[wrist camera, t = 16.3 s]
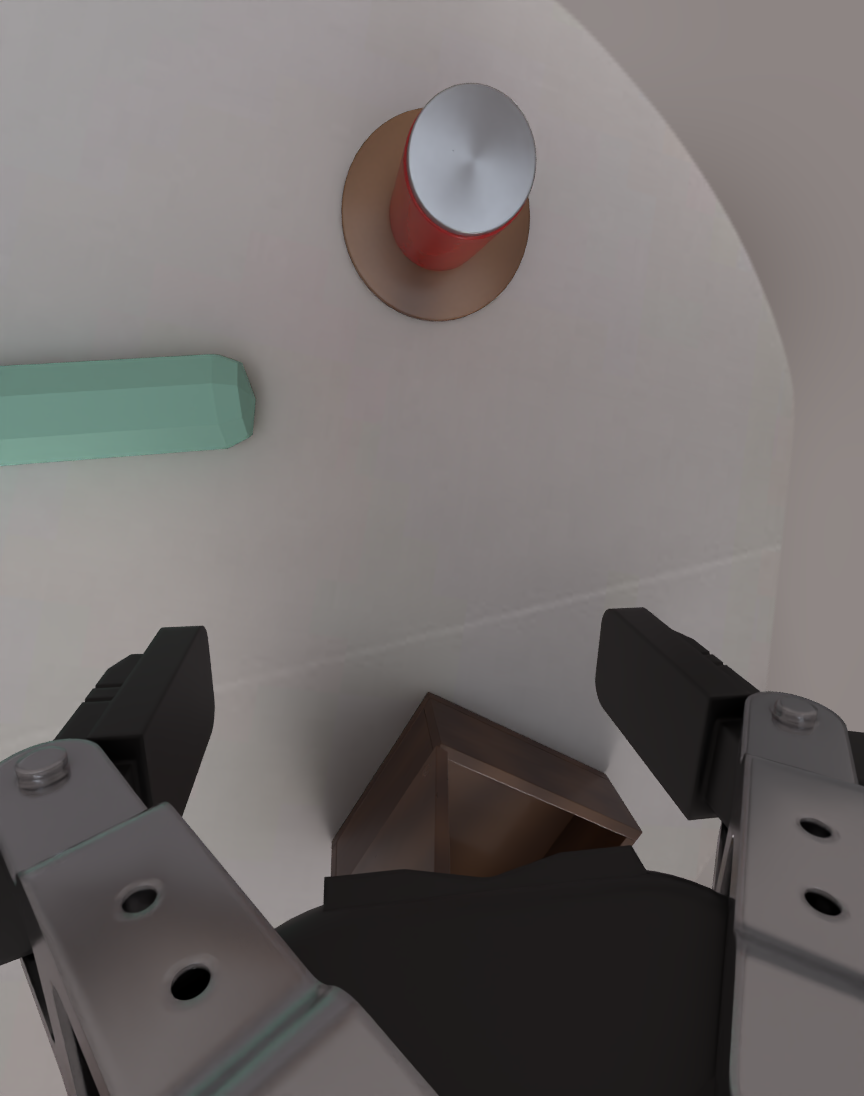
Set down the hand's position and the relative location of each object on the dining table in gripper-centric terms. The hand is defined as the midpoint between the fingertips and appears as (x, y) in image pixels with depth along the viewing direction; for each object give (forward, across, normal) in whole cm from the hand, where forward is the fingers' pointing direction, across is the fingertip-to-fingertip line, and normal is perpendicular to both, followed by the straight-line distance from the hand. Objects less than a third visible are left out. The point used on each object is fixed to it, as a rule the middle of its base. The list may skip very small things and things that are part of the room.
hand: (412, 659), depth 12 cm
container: (+25, +18, -3) cm, 31 cm away
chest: (+24, -7, +25) cm, 36 cm away
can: (+24, -4, -13) cm, 27 cm away
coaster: (+24, -4, -13) cm, 28 cm away
